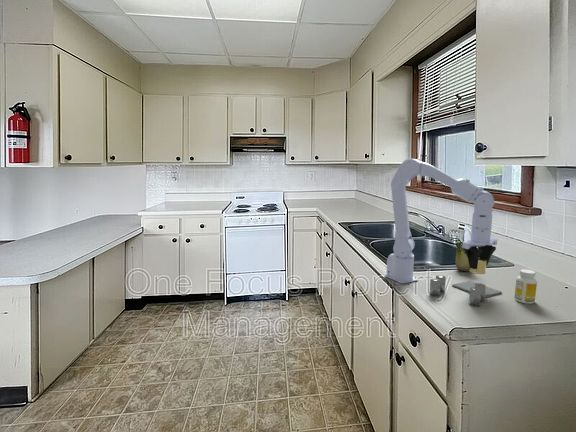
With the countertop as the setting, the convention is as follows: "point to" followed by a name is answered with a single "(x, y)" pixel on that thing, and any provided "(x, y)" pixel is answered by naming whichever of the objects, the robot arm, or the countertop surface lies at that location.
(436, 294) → the cylinder
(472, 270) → the nut
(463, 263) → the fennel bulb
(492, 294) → the mat
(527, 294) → the supplement bottle
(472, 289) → the cylinder
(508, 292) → the countertop surface
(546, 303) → the countertop surface
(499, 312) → the countertop surface
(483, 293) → the cylinder
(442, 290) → the cylinder
